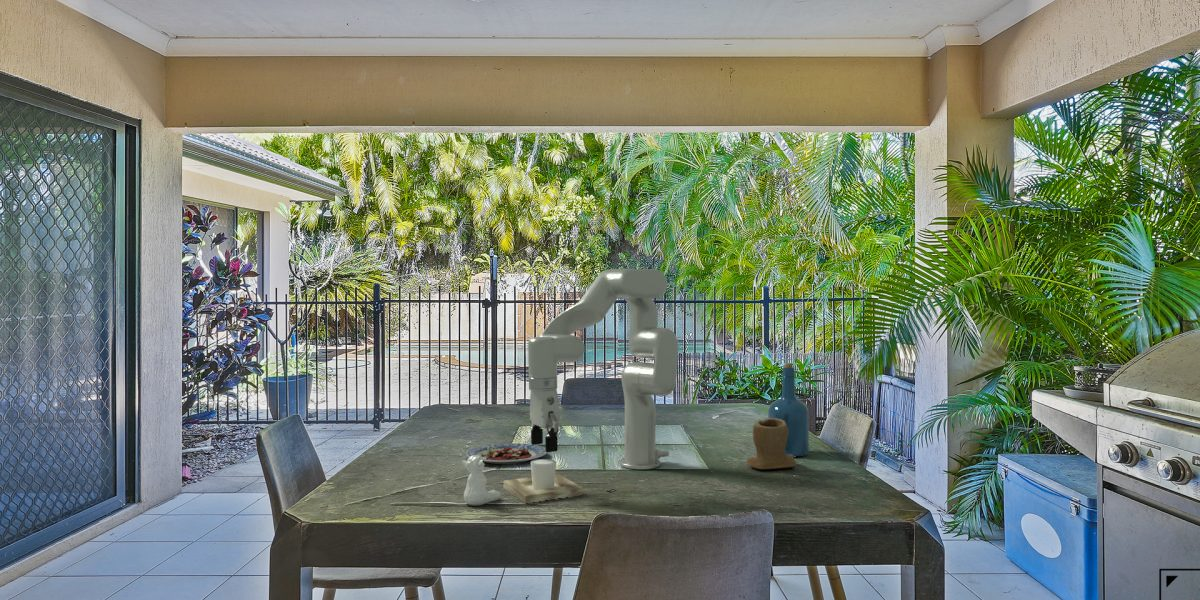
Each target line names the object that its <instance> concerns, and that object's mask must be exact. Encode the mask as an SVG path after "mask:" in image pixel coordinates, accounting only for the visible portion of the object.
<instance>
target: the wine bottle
mask: <svg viewBox="0 0 1200 600" xmlns="http://www.w3.org/2000/svg"><path fill="white" fill-rule="evenodd" d="M781 377H782V382H781V385H782V386H781V396H779V397H778V398H777V399H776V400H774V401H773V402H771V404H769V407H768V417H767V418H777V419H781V420H783V421H785V422H786V424H787V427H788V438H787V442H786V447H785V455H786V454H792V455H793V458H795V457H794V456H802V457H805V456H808V455H809V452H810V451H809V448H810V443H809V442H810V441H809V440H810V439H809V437H810V436H809V435H810V433H809V432H810V429H809V428H810V425H809V424H810V422H809V421H810V420H809V418H810V413H809V412H810V411H809V409H808V407H807V404H806V403H804V402H802V401H801V400H799V399H798V398H797V397H796V387H795V386H796V383H795V381H796V380H795V378H796V373H795V367H794V366H793V363H792V362H786V363H784V366H783V367H782V373H781ZM807 454H808V455H807ZM804 455H805V456H804Z"/></svg>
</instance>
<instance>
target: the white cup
mask: <svg viewBox="0 0 1200 600" xmlns="http://www.w3.org/2000/svg"><path fill="white" fill-rule="evenodd" d="M556 467H557V461H556V460H554V459H549V458H540V459H539V458H537V459H532V460H530V471H531V473H530V474H531V477H532V485H533V489H534V490H540V489H548V488H554V481H555V474H556V469H557V468H556Z"/></svg>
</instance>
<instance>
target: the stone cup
mask: <svg viewBox="0 0 1200 600" xmlns="http://www.w3.org/2000/svg"><path fill="white" fill-rule="evenodd" d="M787 438H788V427H787V424H786V422H785V421H783V420H781V419H777V418H768V417H767V418H764V419H761V420H756V422H755V423H754V424H753V428H752V440H753V444H754V447H755V451H756V452H755V453H756V456H755V457H749V458H748V459H746V463H747V465H748V466H750V467H752V468H754V469H757V470H773V469H775V470H776V469H777V470H778V469H788V468H794V467H797V462H796V460H795V457H793V455H792V454H786V455H785V447H786V442H787Z"/></svg>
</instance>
